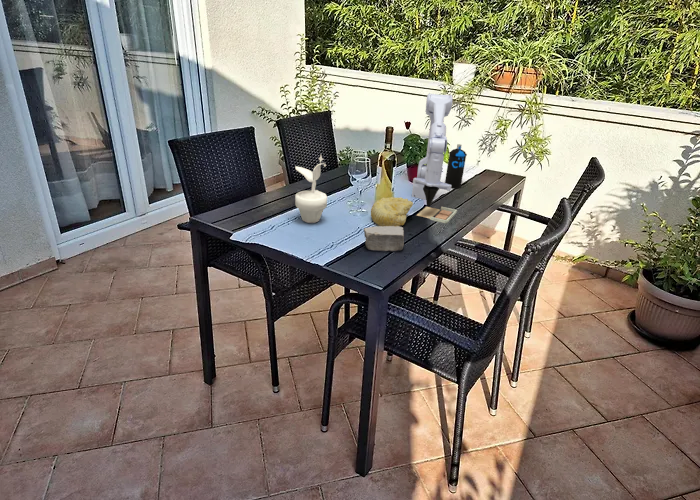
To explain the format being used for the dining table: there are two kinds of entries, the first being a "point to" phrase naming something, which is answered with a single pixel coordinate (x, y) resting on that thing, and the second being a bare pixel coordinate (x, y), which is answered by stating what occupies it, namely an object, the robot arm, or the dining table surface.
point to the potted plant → (311, 196)
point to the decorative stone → (384, 238)
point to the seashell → (390, 211)
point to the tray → (448, 218)
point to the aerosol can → (455, 167)
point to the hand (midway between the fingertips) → (429, 204)
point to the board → (428, 212)
